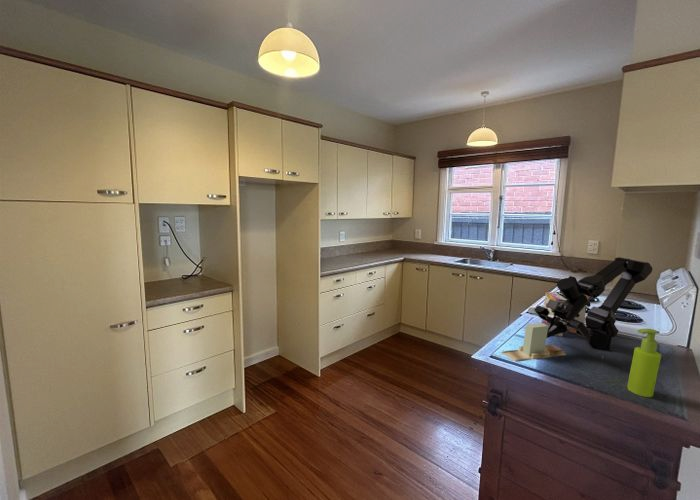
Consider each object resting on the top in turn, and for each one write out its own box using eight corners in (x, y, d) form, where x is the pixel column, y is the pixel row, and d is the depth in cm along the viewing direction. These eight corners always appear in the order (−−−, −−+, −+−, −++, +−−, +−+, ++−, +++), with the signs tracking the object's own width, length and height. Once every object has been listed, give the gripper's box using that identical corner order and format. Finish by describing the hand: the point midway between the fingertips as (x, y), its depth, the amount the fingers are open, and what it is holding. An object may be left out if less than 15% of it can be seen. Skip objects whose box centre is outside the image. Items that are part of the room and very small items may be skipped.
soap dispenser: (618, 385, 99) (630, 325, 96) (639, 385, 100) (651, 325, 97) (637, 397, 94) (649, 334, 90) (658, 397, 94) (671, 334, 91)
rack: (549, 347, 124) (550, 341, 123) (566, 356, 117) (567, 350, 117) (500, 354, 117) (501, 348, 117) (515, 364, 110) (516, 357, 110)
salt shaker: (588, 333, 139) (595, 291, 136) (574, 334, 137) (581, 292, 134) (573, 326, 146) (579, 286, 143) (560, 327, 144) (566, 287, 141)
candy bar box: (540, 325, 146) (545, 291, 143) (552, 326, 145) (557, 292, 142) (550, 335, 135) (555, 299, 132) (563, 337, 134) (569, 300, 131)
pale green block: (537, 350, 119) (541, 322, 117) (544, 354, 116) (548, 325, 115) (522, 352, 117) (526, 324, 115) (529, 356, 114) (532, 327, 113)
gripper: (541, 285, 125) (514, 314, 123) (588, 300, 107) (558, 334, 106) (553, 303, 128) (528, 331, 127) (601, 321, 111) (572, 353, 109)
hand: (544, 336), depth 117 cm, fingers closed
